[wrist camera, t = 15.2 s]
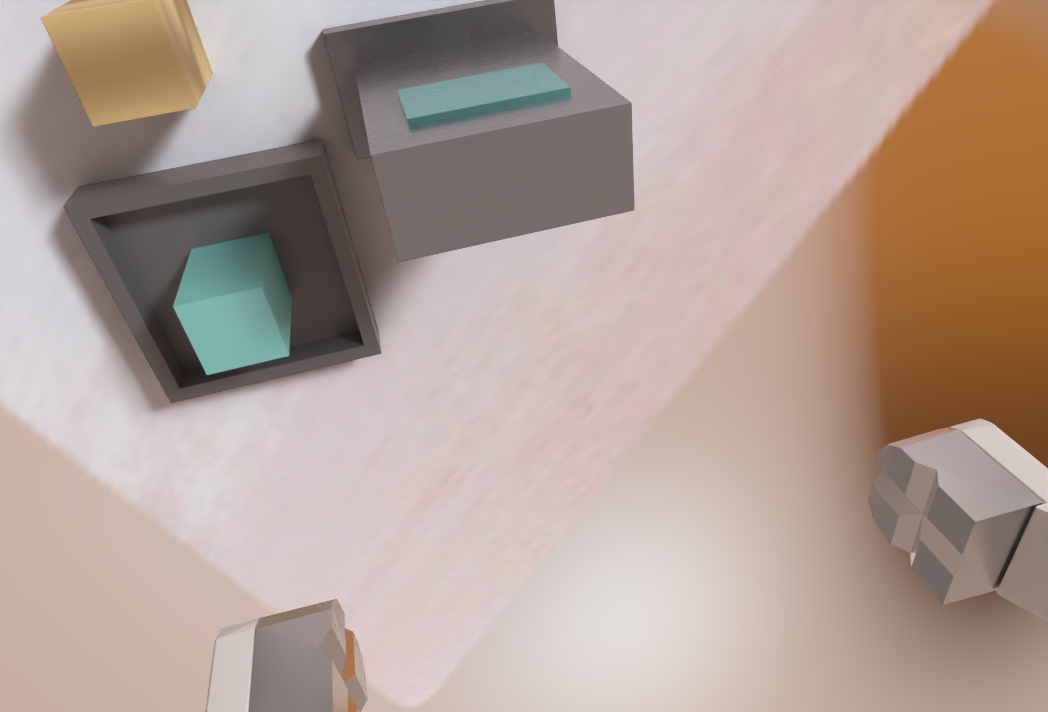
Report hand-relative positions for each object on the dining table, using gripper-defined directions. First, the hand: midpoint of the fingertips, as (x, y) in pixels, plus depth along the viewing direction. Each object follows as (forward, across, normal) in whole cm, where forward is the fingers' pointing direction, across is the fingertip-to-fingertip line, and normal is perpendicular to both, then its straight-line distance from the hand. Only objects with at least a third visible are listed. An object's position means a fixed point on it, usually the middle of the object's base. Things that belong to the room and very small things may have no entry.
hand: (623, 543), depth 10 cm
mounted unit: (+31, -2, +1) cm, 31 cm away
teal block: (+30, +11, +9) cm, 33 cm away
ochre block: (+31, +11, -3) cm, 33 cm away
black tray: (+31, +11, +9) cm, 34 cm away
